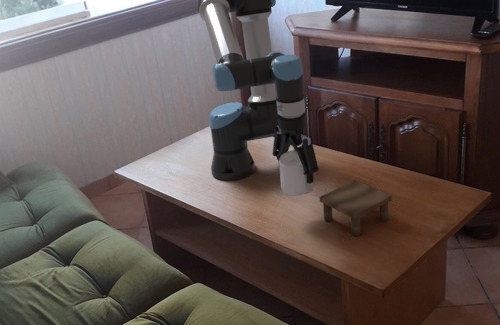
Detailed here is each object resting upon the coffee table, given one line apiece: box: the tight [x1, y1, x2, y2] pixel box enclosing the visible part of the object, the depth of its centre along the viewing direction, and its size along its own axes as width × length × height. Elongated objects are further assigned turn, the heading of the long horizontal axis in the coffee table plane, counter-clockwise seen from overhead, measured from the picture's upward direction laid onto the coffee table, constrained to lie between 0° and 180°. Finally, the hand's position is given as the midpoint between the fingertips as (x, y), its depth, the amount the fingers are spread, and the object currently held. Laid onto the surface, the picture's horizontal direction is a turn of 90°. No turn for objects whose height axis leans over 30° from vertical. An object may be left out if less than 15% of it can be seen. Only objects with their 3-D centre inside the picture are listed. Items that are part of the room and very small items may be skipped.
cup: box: [278, 149, 305, 197], centre depth 168 cm, size 10×10×10 cm
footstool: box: [319, 179, 393, 238], centre depth 167 cm, size 14×14×8 cm
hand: (296, 185), depth 170 cm, fingers closed on cup, 10 cm apart
